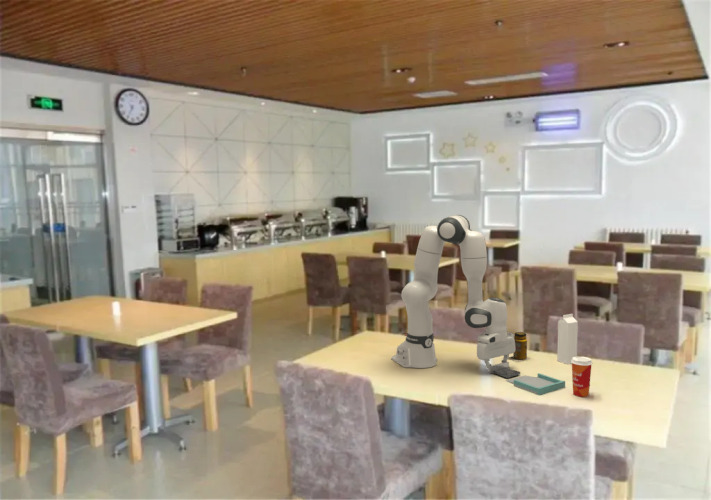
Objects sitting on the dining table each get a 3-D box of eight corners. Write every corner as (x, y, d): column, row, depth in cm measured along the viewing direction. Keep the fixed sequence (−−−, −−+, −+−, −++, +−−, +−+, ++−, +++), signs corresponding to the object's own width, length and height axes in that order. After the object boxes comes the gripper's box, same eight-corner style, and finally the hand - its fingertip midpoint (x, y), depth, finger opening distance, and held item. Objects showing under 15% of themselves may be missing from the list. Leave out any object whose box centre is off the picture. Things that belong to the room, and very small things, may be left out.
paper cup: (566, 391, 228) (567, 356, 226) (585, 390, 229) (586, 355, 227) (575, 398, 220) (576, 362, 219) (595, 397, 221) (596, 361, 219)
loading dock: (502, 383, 241) (502, 375, 240) (527, 376, 249) (527, 368, 248) (539, 397, 225) (539, 388, 224) (565, 389, 232) (565, 381, 232)
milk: (557, 361, 267) (557, 313, 264) (566, 359, 269) (567, 312, 267) (567, 364, 261) (568, 316, 259) (577, 362, 264) (577, 314, 262)
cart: (488, 374, 250) (488, 366, 250) (506, 369, 256) (507, 361, 255) (504, 379, 242) (504, 371, 242) (522, 375, 248) (522, 366, 248)
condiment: (530, 358, 271) (531, 333, 270) (518, 362, 266) (518, 336, 265) (518, 355, 277) (518, 330, 276) (506, 358, 272) (506, 333, 271)
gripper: (508, 330, 260) (507, 360, 262) (474, 337, 249) (474, 368, 251) (519, 332, 255) (518, 363, 257) (485, 340, 244) (485, 372, 246)
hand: (496, 366), depth 254 cm, fingers open, 8 cm apart
